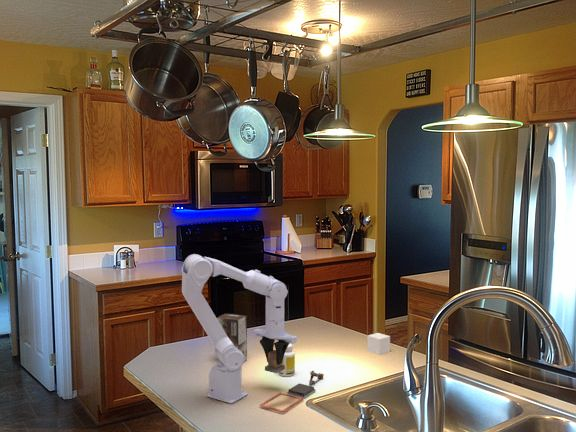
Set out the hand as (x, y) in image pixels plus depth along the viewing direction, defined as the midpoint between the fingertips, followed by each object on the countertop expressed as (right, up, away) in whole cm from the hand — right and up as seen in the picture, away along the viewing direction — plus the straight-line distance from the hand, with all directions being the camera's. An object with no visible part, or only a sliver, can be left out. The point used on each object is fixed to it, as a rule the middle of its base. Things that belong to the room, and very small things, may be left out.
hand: (274, 362), depth 166 cm
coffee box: (-16, -7, +26) cm, 31 cm away
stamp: (0, -2, 0) cm, 2 cm away
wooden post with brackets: (+13, -8, +7) cm, 17 cm away
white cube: (+38, -6, +38) cm, 54 cm away
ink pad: (+8, -9, -2) cm, 12 cm away
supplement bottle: (+4, -8, +14) cm, 16 cm away
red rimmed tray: (+2, -9, -10) cm, 14 cm away
